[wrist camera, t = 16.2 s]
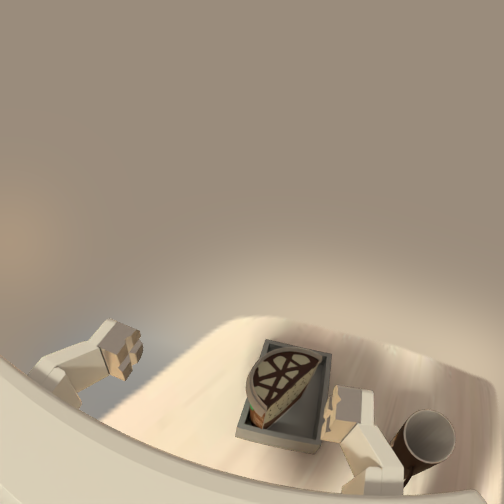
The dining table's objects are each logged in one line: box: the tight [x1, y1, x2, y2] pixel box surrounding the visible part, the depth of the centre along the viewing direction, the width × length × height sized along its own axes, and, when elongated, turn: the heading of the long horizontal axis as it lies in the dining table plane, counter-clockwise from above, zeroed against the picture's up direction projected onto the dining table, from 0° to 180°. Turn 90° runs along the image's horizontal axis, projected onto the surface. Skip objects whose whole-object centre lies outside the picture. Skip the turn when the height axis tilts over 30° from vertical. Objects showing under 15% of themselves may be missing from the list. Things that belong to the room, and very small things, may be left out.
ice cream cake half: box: [246, 347, 322, 430], centre depth 39 cm, size 12×6×10 cm, turn 136°
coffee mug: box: [389, 409, 456, 488], centre depth 30 cm, size 12×9×10 cm
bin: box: [235, 339, 332, 454], centre depth 43 cm, size 12×18×4 cm, turn 165°
